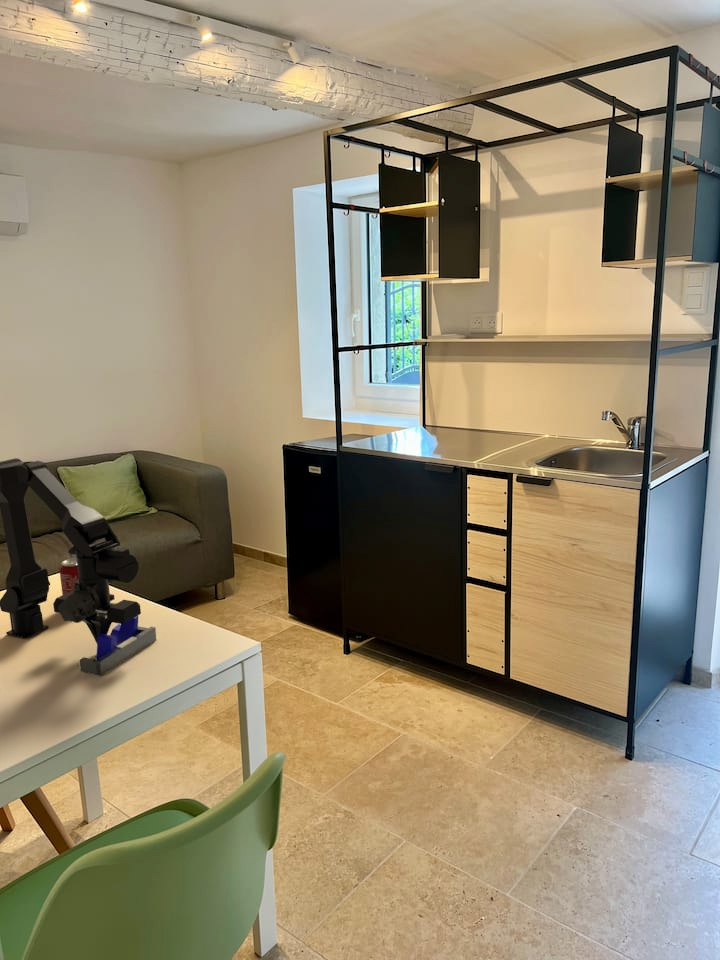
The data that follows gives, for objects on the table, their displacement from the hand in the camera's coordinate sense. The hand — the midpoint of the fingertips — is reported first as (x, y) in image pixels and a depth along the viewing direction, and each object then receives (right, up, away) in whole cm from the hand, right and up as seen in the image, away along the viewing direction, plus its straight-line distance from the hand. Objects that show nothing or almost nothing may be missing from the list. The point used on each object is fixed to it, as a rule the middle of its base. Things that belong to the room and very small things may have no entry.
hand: (100, 644), depth 155 cm
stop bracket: (+5, -2, -1) cm, 5 cm away
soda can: (-14, +3, +24) cm, 28 cm away
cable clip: (+3, -2, 0) cm, 3 cm away
